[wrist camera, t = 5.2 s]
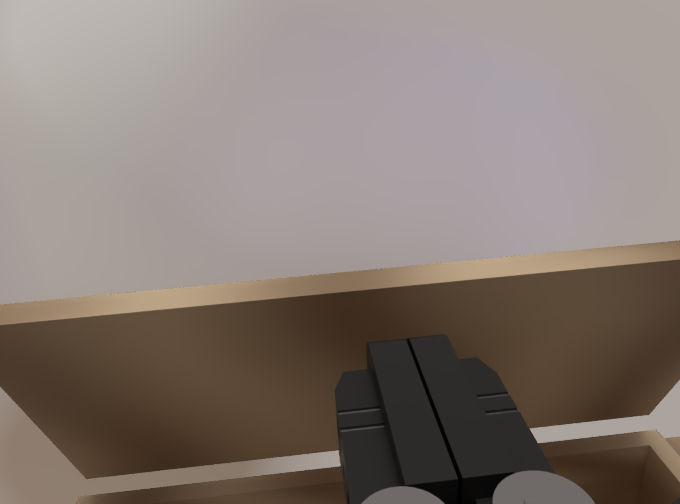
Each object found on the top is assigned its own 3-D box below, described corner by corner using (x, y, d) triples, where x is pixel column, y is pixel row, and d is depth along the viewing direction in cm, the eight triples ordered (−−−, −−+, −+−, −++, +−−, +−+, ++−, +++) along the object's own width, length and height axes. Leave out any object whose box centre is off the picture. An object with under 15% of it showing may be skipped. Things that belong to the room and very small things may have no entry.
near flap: (649, 414, 18) (641, 400, 19) (794, 248, 12) (779, 231, 13) (86, 478, 17) (89, 462, 18) (-53, 330, 11) (-45, 309, 12)
